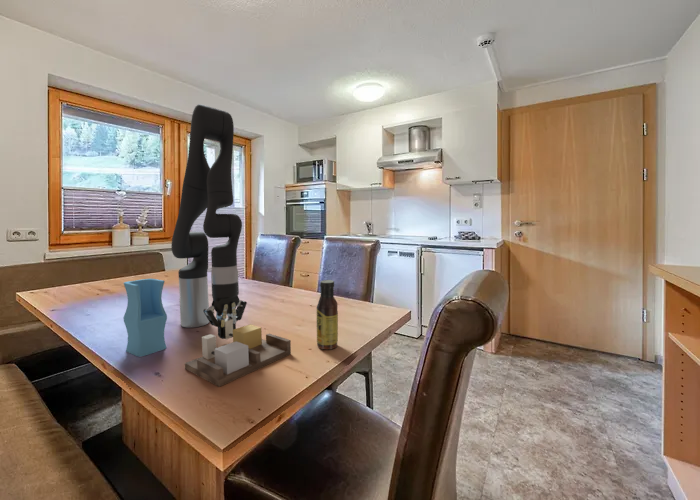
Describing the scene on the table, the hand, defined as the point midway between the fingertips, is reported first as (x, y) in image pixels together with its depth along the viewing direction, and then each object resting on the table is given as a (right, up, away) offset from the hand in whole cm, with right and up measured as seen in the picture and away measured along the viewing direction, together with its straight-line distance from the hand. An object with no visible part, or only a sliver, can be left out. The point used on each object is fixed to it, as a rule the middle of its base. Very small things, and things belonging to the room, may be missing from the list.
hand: (227, 336), depth 98 cm
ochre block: (+5, -1, -3) cm, 6 cm away
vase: (-21, -3, -5) cm, 22 cm away
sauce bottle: (+31, -3, -2) cm, 31 cm away
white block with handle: (+5, -2, -16) cm, 17 cm away
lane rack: (+8, -3, -12) cm, 15 cm away
